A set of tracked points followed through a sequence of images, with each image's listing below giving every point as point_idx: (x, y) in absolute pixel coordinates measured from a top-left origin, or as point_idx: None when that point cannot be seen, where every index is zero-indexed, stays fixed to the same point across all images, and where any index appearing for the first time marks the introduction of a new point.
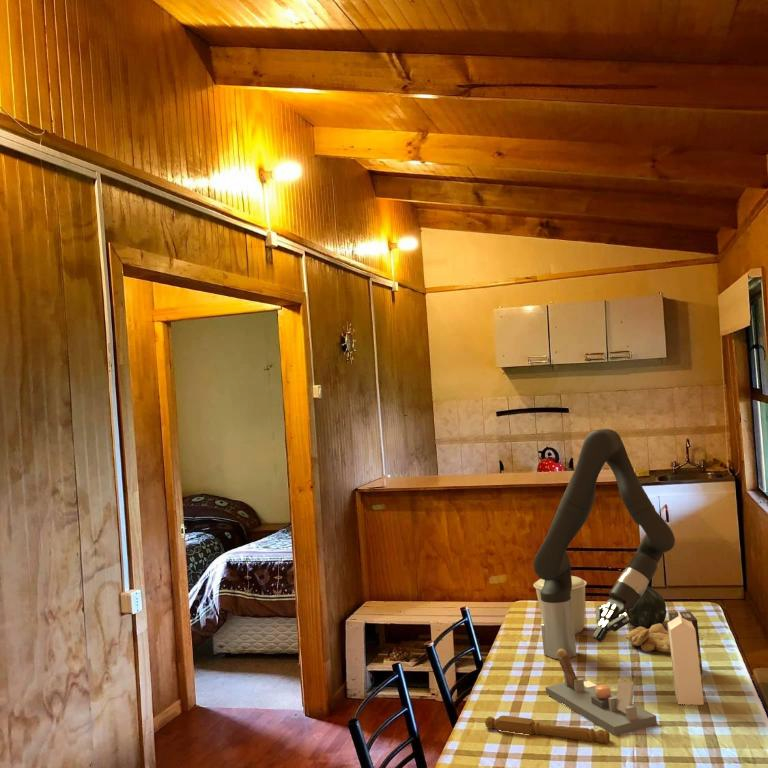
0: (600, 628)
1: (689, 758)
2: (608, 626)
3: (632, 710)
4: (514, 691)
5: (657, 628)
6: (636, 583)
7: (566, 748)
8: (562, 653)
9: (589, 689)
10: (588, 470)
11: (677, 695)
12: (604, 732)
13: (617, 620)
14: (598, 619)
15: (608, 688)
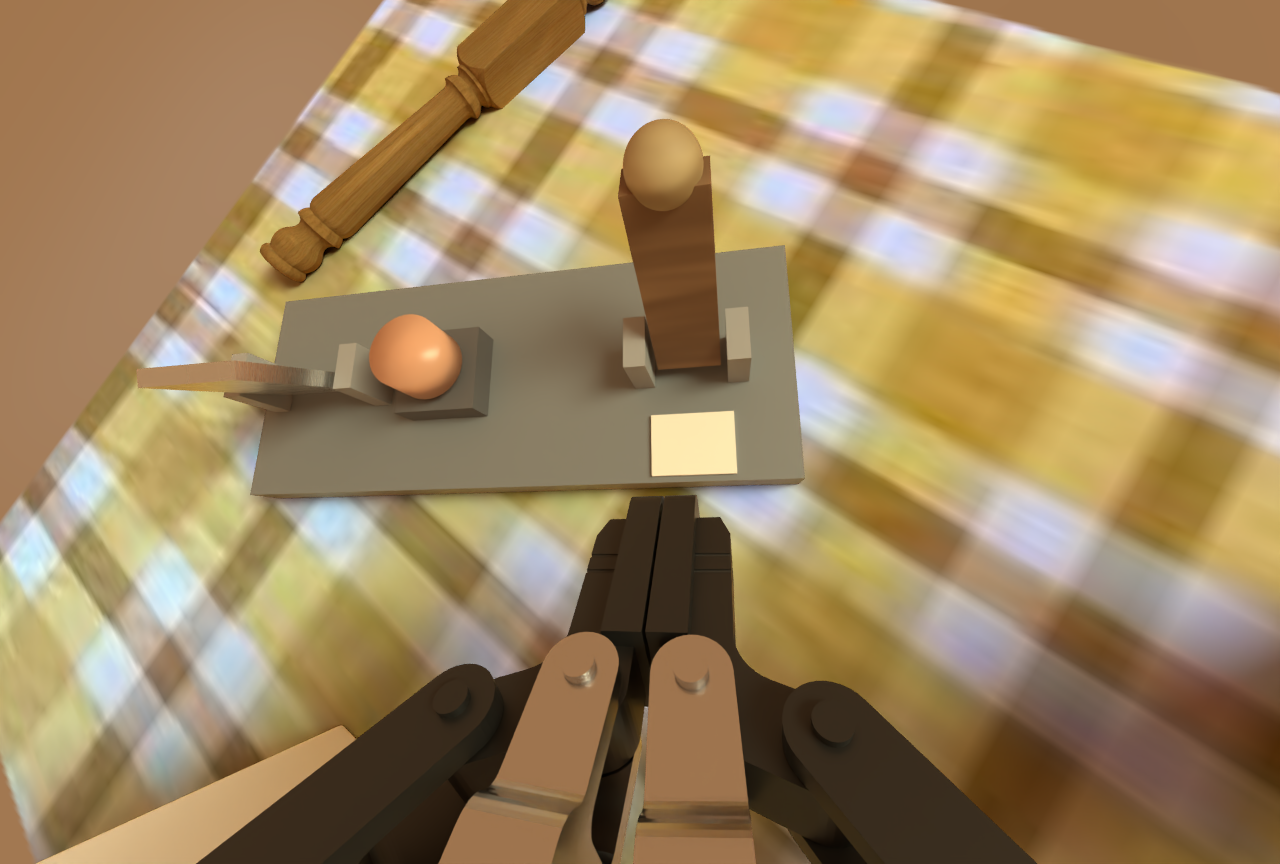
0: (629, 602)
1: (89, 424)
2: (461, 667)
3: None
4: (896, 157)
5: None
6: None
7: (346, 152)
8: (626, 150)
9: (633, 416)
10: None
11: (316, 746)
12: (266, 244)
13: (230, 852)
14: (810, 742)
15: (375, 367)
